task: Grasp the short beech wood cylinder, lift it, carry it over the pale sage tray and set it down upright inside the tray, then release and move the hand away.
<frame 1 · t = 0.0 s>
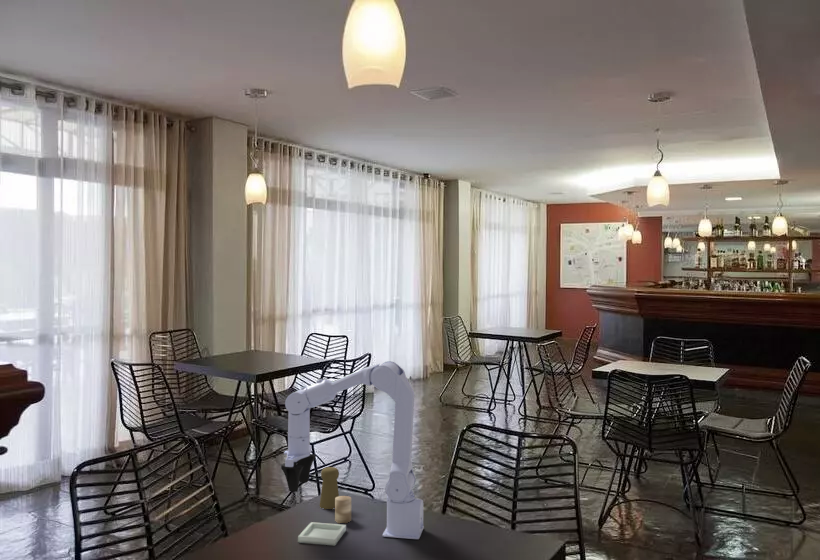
hand: (298, 486, 170), 10 cm above the table, tool pointing down, fingers open, 7 cm apart
cork: (329, 506, 184), on the table
sage tray: (322, 536, 162), on the table
beech cylinder: (343, 520, 173), on the table
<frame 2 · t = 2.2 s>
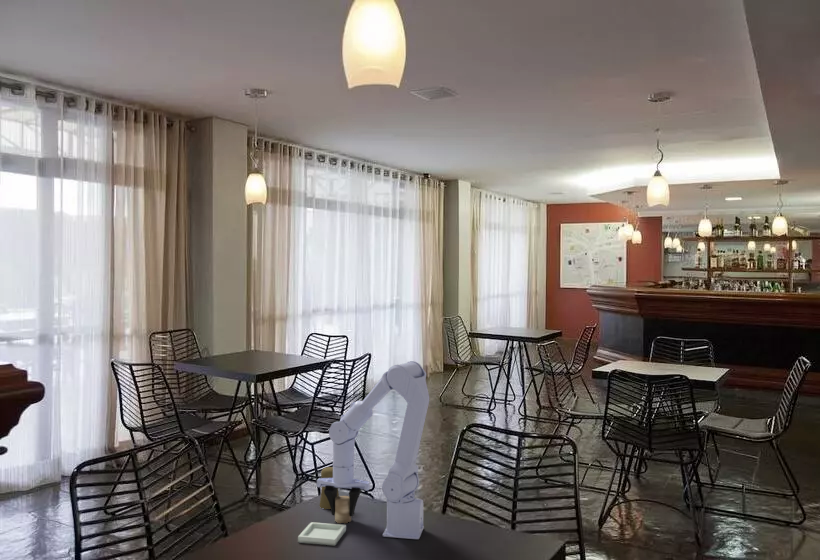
hand: (343, 514, 173), 2 cm above the table, tool pointing down, fingers closed on beech cylinder, 4 cm apart
beech cylinder: (343, 520, 173), on the table, touching gripper
everything else where it was.
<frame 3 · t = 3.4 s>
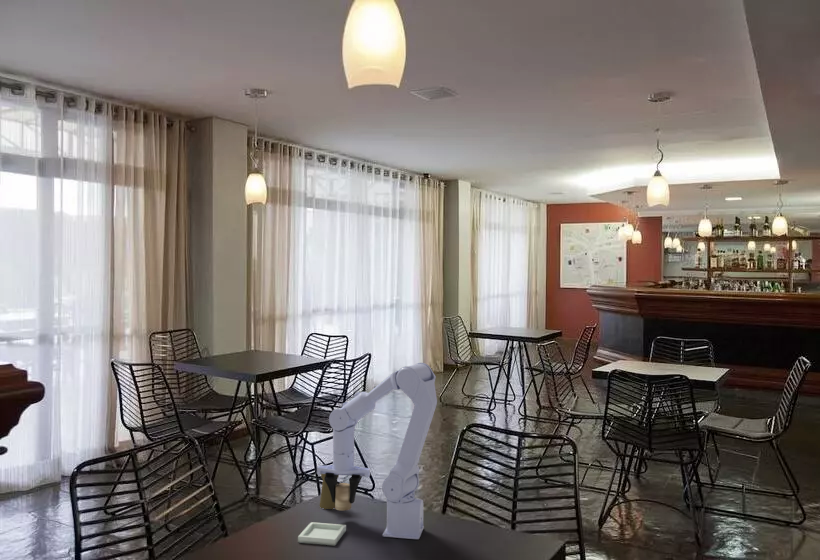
hand: (343, 501, 173), 5 cm above the table, tool pointing down, fingers closed on beech cylinder, 4 cm apart
beech cylinder: (343, 507, 173), point 3 cm above the table, touching gripper
everything else where it was.
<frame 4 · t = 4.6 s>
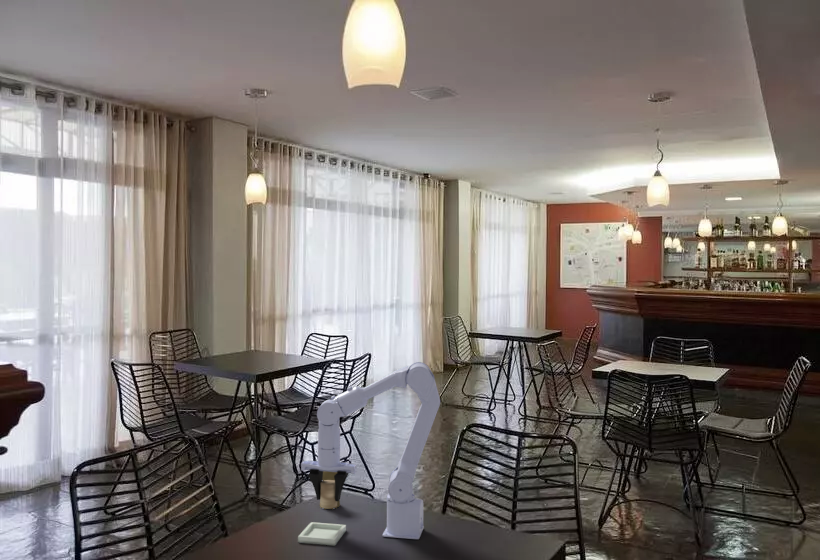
hand: (328, 499, 165), 8 cm above the table, tool pointing down, fingers closed on beech cylinder, 4 cm apart
beech cylinder: (328, 505, 165), point 7 cm above the table, touching gripper
everything else where it was.
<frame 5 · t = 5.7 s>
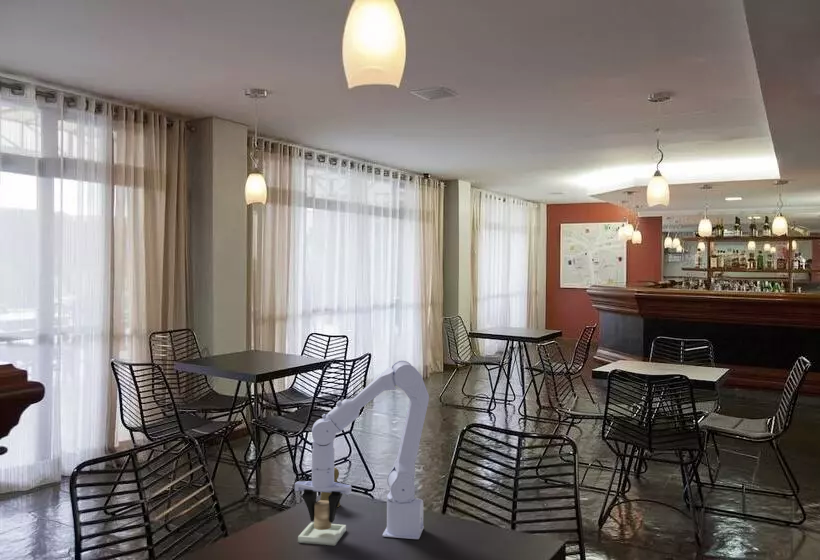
hand: (322, 520, 162), 4 cm above the table, tool pointing down, fingers closed on beech cylinder, 4 cm apart
beech cylinder: (322, 526, 162), point 2 cm above the table, touching gripper
everything else where it was.
when the fingers open (3 cm above the table, at t = 6.8 s): beech cylinder stays where it is, resting on sage tray.
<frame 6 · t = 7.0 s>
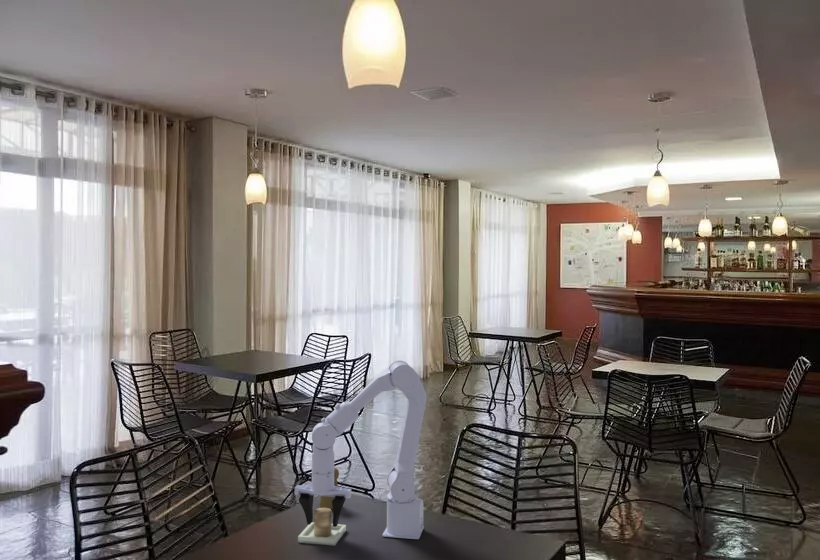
hand: (322, 524, 162), 3 cm above the table, tool pointing down, fingers open, 6 cm apart
beech cylinder: (322, 534, 162), resting on sage tray
everything else where it was.
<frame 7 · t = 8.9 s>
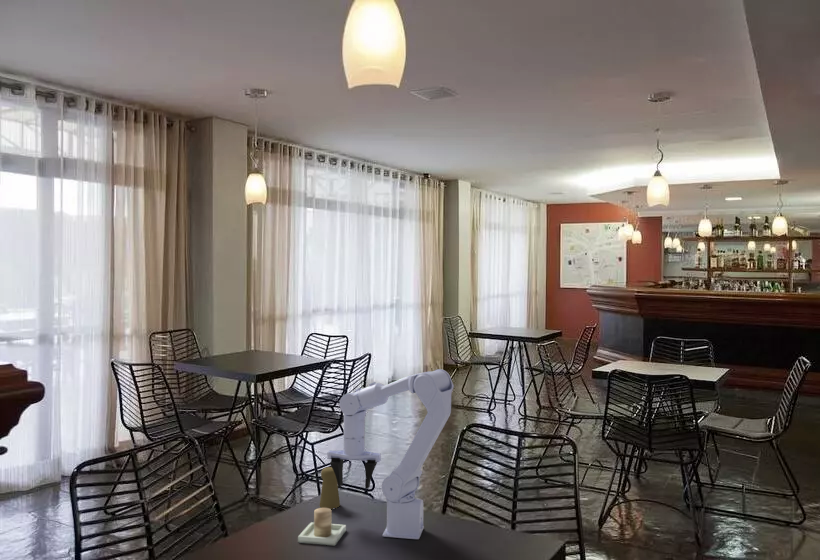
hand: (353, 486, 172), 9 cm above the table, tool pointing down, fingers open, 7 cm apart
nothing on the table moved.
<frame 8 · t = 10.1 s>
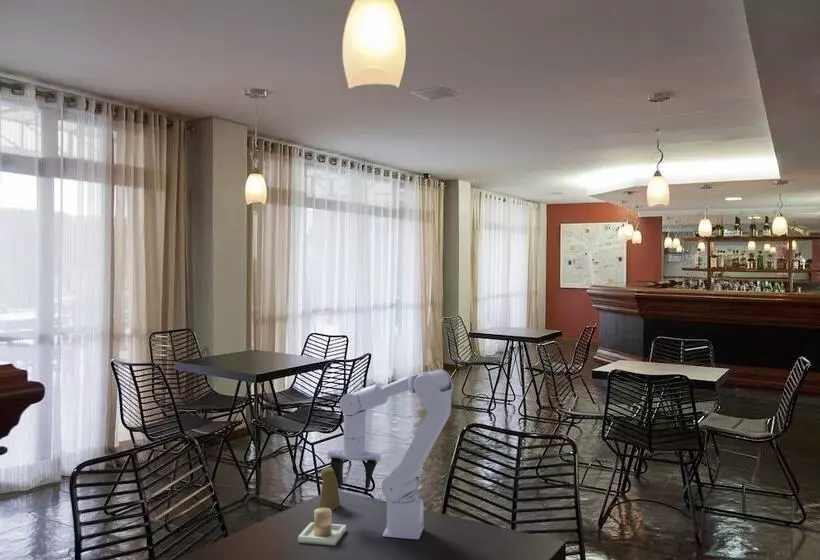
hand: (353, 486, 172), 9 cm above the table, tool pointing down, fingers open, 7 cm apart
nothing on the table moved.
at the end: beech cylinder 0.1 cm off-centre on the sage tray, point 0.5 cm above the sage tray's base; beech cylinder tilted 1°; the gripper is holding nothing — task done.
